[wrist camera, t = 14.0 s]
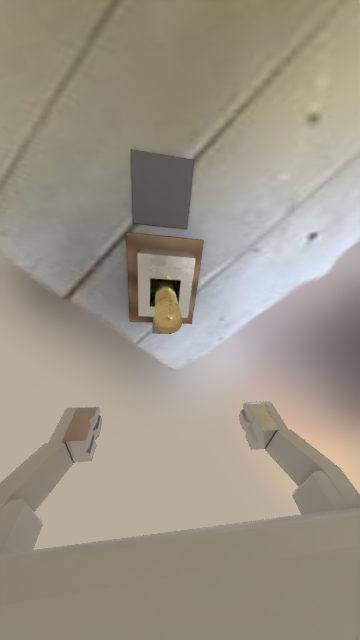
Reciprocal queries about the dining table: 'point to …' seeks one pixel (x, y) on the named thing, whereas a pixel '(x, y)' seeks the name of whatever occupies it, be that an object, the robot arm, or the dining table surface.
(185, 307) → the block
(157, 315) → the brass pin
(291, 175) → the dining table surface
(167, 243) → the walnut base
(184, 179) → the rubber mat
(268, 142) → the dining table surface
